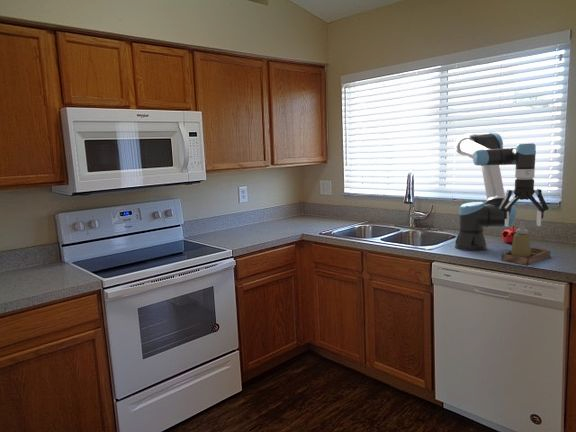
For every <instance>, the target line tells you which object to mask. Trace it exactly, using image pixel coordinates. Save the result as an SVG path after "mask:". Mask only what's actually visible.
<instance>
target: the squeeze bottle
mask: <svg viewBox="0 0 576 432" xmlns="http://www.w3.org/2000/svg"><path fill="white" fill-rule="evenodd" d="M518 228H519V229H516V228H515V229H516V234H514V237H513V243H511V250H510V251H511V254H512V256H518V257H524V258H529V257H530V255H531V249H530V247H531V237H530V234H529V231H528V229H526V226H525V221H520V224H519V227H518Z"/></svg>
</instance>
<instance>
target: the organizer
mask: <svg viewBox="0 0 576 432" xmlns="http://www.w3.org/2000/svg"><path fill="white" fill-rule="evenodd" d="M530 249H531V255H530V257H529V258H524V257H518V256H512V254H511V250H509V251H507V252H504V253H501V259H500V260H501V261H502V262H507V263H512V264H519V265H525V266H530V265H532V264H535V263H538V262H540V261H543V260H545V259H547V258H549V257H551V250H550V249H544V248H537V247H531V246H530Z"/></svg>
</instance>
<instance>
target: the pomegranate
mask: <svg viewBox="0 0 576 432" xmlns="http://www.w3.org/2000/svg"><path fill="white" fill-rule="evenodd" d="M515 227H516V226H515V225H512V226H510V228H509V227H505V229H504V230H503V231H502V232H501V237H502V240H503V242H504V243H505V244H512V243H513V237H514V234H516V229H519V227H517V228H515Z"/></svg>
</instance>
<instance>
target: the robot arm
mask: <svg viewBox="0 0 576 432" xmlns="http://www.w3.org/2000/svg"><path fill="white" fill-rule="evenodd" d="M536 147H537V146H536V144H535V143H534V142H533V143H532V142H531V143H518V144H517V145H516V147H510V148H504V141H503V139H502V136H501V135H500V133H497V132H480V133H478V132H476V133H475V132H474V133H473V132H472V133H471V132H470V133H465V134H463V135H461V136H459V138H457V139H456V141H455V143H454V148H455V151H456V152H457V153H458V154H459V155H461V156H465V157H466V156H467V157H468V158H471V159H472V161H473V164H474V166H481V171H482V172H481V173H482V178H483V184H484V190H485V195H486V201H485V202H483V201H472V202H465V203H463V204H461V205H460V206H459V211H458V212H459V213H458V216H459V217H458V222H459V223H458V226H459V227H458V234H457V237H456V240H455V242H454V247H455V248H456V249H457V250H462V251H470V252H471V251H472V252H473V251H477V252H478V251H484V250H486V249H487V242H486V241H487V240H486V238H485V234H484V228H509V227H510V228H511V227H512V226H514V224H515V221H516V216H517V209H516V206H515V204H516V202H519V200H520V201H522V200H523V201H524V200H525V201H527V200H528V201H531V202H532V204H533V205H534V206H535V207H536V208H537V209H538V210H536V226H537V227H541V226H542V219H544V213H545V211H548V210H549V205H548V204H547V202H546V200H545V198H544V196H543V190H542V189H539V188H537V189H535V179H534V178H535V173H536V171H535V170H536V168H535V166H536V153H537V151H536ZM509 165H510V166H512V165H513V166H515V173H514V179H515V180H514V189H513V190H511V189H507V190H506V194H505V190H504V183H503V179H502V172H501V168H500V166H509ZM513 194H514V196H513ZM534 194H535V195H536V197H537V198H538V200H539V202H538V201H537V200H536V198H535V197H534ZM512 196H513V197H512ZM511 197H512V199H511ZM510 199H511V200H510Z"/></svg>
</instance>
